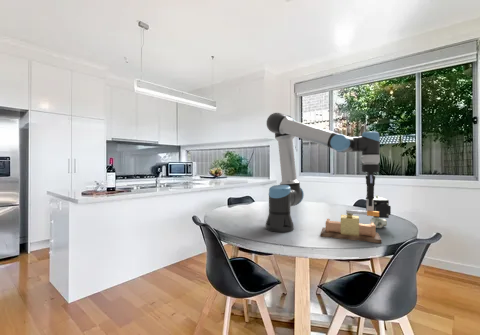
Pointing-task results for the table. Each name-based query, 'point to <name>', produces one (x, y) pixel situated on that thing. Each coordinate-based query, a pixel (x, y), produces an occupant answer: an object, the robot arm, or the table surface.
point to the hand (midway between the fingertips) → (369, 212)
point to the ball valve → (380, 211)
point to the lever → (363, 212)
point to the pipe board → (350, 237)
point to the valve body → (350, 226)
